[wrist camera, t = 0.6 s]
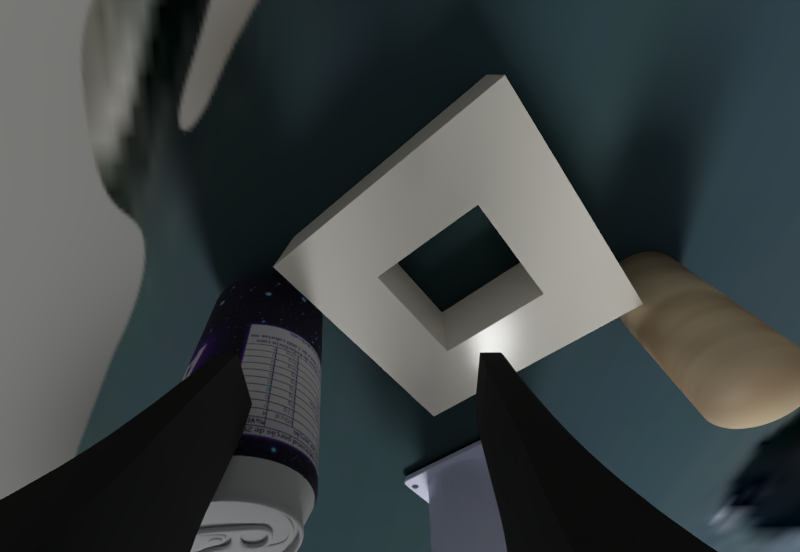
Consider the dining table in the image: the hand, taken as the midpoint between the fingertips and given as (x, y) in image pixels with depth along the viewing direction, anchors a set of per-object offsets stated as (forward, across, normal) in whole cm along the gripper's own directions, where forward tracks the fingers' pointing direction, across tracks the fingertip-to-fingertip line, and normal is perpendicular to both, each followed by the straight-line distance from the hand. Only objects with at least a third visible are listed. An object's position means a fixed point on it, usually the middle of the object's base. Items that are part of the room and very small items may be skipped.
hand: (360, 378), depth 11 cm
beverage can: (+10, +6, +4) cm, 12 cm away
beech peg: (+10, -14, +2) cm, 18 cm away
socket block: (+10, -4, 0) cm, 11 cm away
